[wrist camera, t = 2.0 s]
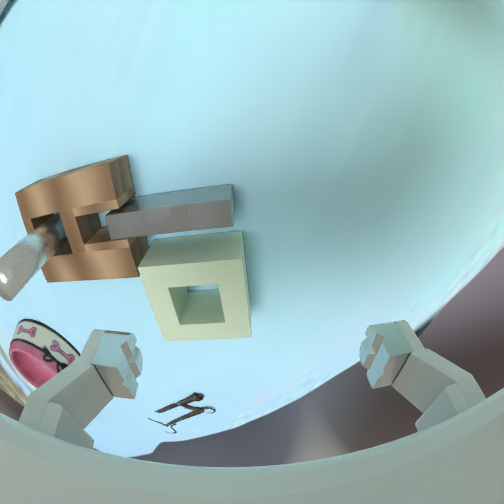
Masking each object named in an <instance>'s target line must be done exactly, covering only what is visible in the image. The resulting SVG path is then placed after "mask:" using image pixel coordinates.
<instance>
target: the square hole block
mask: <svg viewBox="0 0 504 504" xmlns="http://www.w3.org/2000/svg"><path fill="white" fill-rule="evenodd" d="M138 270H139V273H140V276H141V279H142V282H143V285H144V288H145V291H146V294H147V296H148V299H149V302H150V305H151V307H152V310H153V312H154V315H155V318H156V320H157V323H158V325H159V328H160V330H161V333H162V335H163V338H164V340H165V341H181V340H212V339H231V338H246V337H251V313H250V298H249V289H248V280H247V271H246V263H245V254H244V245H243V236H242V231H233V232H222V233H212V234H202V235H192V236H182V237H173V238H164V239H154V241H153V243H152V244H151V246H150V247H149V249H148V251H147V252H146V254H145V256H144V258H143V259H142V261H141V263H140V264H139V266H138ZM212 284H218V287H219V289H218V290H204V291H189V292H188V289H187V286H198V285H212Z"/></svg>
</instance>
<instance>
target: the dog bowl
mask: <svg viewBox="0 0 504 504" xmlns="http://www.w3.org/2000/svg"><path fill="white" fill-rule="evenodd" d="M9 357H10V360H11V362H12V364H13V365H14V367H15V368H16V369H17V371H18V372H19V373H20V374H21V375H22V376H23V377H24V378H25V379H26V380H27V381H28V382H29V383H31V384H32V385H33V386H34V387H36V388H39V387H40V386H41V385H43V384H44V383H45V382H47V381H48V380H50V379H51V378H52V377H54V376H55V375H56V374H58V373H59V372H60V371H62V370H63V369H65V368H66V367H67V366H69V365H70V364H71V363H73V362H78V359H79V357H80V353H79V352H78V351H77V350H76V349H75V347H74V346H73V345H72V344H71V343H69V342H68V341H67V340H66V339H65V338H64V337H63V336H61V335H60V334H59V333H58V332H56V331H55V330H53V329H52V328H50V327H48V326H47V325H45V324H43V323H41V322H38V321H35V320H31V319H24V320H21V321H20V322H19V323H18V324H17V327H16V330H15V332H14V335H13V338H12V341H11V343H10V349H9Z"/></svg>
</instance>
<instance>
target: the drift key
mask: <svg viewBox="0 0 504 504" xmlns="http://www.w3.org/2000/svg"><path fill="white" fill-rule="evenodd" d="M233 219H234V198H233V189H232V184H228V185H218V186H210V187H201V188H193V189H186V190H178V191H171V192H164V193H158V194H151V195H145V196H139V197H133V198H130V199H129V200H128V201H127V202H125V203H124V204H123V205H122V206H121V207H120V208H119V209H113V210H111V211H110V212H109V213H107V214H106V215H105V220H106V223H107V227H108V230H109V233H110V237H111V240H114V239H122V238H130V237H138V236H147V235H155V234H164V233H173V232H182V231H191V230H201V229H211V228H221V227H231V226H233Z"/></svg>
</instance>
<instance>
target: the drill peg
mask: <svg viewBox="0 0 504 504" xmlns="http://www.w3.org/2000/svg"><path fill="white" fill-rule="evenodd" d="M67 241H68V238H67V235H66V232H65V229H64V226H63V223H62V220H61V217H60V213H59V212H57V213H55V214H54V215H53V216H51V217H50V218H48V219H47V220H46V221H44V222H43V223H42V224H41V225H39V226H38V227H37V228H35V229H34V230H33V231H32V232H30V233H29V234H28V235H27V236H25V237H24V238H23V239H22V240H21V241H19V242H18V243H17V244H16V245H15V246H14V247H12V248H11V249H10V250H9V251H8V252H7V253H6V254H4V255H3V256H2V257H1V258H0V296H1V297H2V298H3V299H5V300H7V301H11V300H12V299H13V298H14V297H15V296H16V295H17V294H18V292H19V291H20V290H21V289H22V288H23V287H24V285H25V284H26V283H27V282H28V281H29V280H30V279H31V278H32V277H33V275H34V274H35V273H36V272H37V271H38V270H39V269H40V268H41V267H42V266H43V265H44V264H45V263H46V262H47V261H48V260H49V259H50V258H51V257H52V256H53V255H54V254H55V253H56V252H57V251H58V250H59V249H60V248H61V247H62V246H63V245H64V244H65V243H66V242H67Z"/></svg>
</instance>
